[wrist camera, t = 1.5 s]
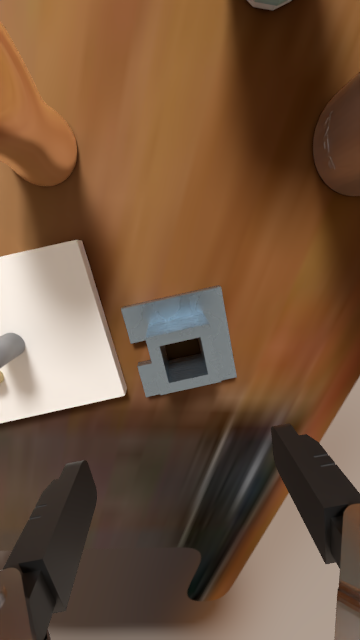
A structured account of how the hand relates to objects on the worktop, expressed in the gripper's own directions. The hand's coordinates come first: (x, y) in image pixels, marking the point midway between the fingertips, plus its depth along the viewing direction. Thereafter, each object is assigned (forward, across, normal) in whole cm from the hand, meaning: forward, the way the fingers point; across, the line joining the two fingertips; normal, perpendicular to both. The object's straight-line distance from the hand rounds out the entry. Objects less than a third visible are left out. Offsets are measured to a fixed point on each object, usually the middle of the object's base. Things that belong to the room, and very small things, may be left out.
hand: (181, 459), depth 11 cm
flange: (+16, -1, +1) cm, 16 cm away
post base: (+16, +15, -3) cm, 23 cm away
